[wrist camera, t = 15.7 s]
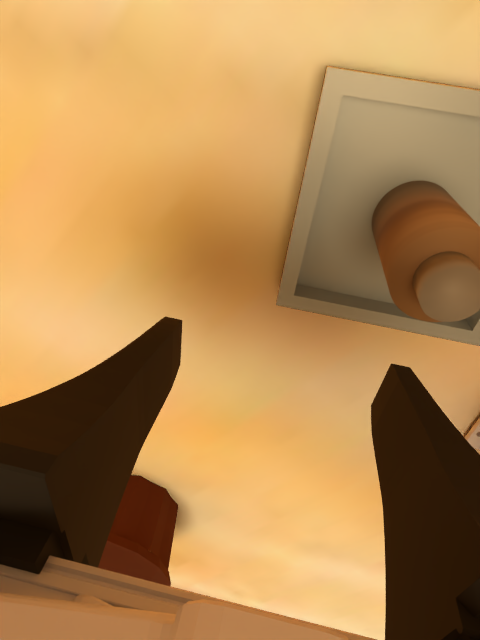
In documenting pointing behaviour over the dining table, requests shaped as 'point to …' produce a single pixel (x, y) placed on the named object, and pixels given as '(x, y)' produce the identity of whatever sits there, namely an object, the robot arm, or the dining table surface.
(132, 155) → the dining table surface
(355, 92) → the tray
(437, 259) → the orange bottle
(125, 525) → the muffin
